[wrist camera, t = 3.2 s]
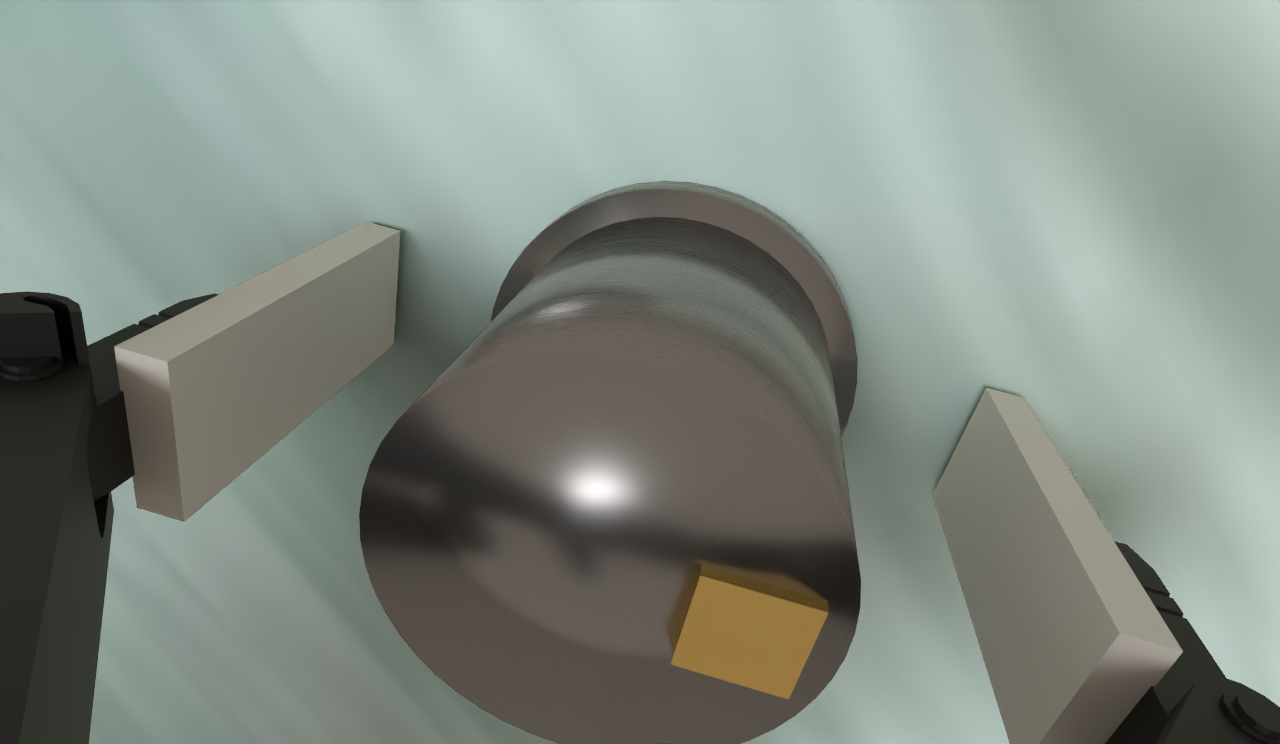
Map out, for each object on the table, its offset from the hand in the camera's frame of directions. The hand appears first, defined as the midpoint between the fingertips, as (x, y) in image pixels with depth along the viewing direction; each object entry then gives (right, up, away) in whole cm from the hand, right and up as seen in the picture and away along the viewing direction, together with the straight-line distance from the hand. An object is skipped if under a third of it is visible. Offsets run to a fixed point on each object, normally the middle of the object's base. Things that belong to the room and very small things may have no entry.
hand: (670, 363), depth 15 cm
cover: (0, 0, 0) cm, 0 cm away
